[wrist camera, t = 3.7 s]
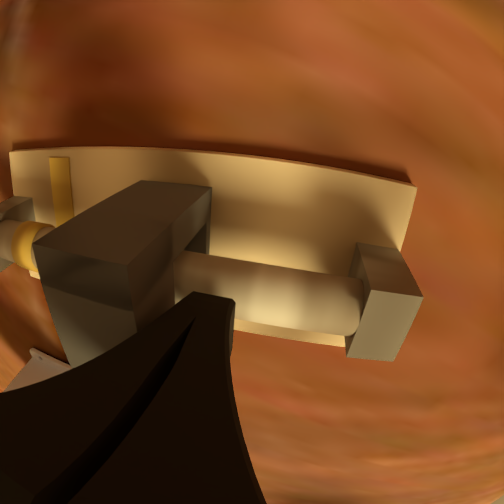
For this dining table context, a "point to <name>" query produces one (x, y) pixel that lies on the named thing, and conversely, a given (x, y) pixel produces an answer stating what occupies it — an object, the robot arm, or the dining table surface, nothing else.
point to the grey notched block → (119, 263)
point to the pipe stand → (249, 236)
